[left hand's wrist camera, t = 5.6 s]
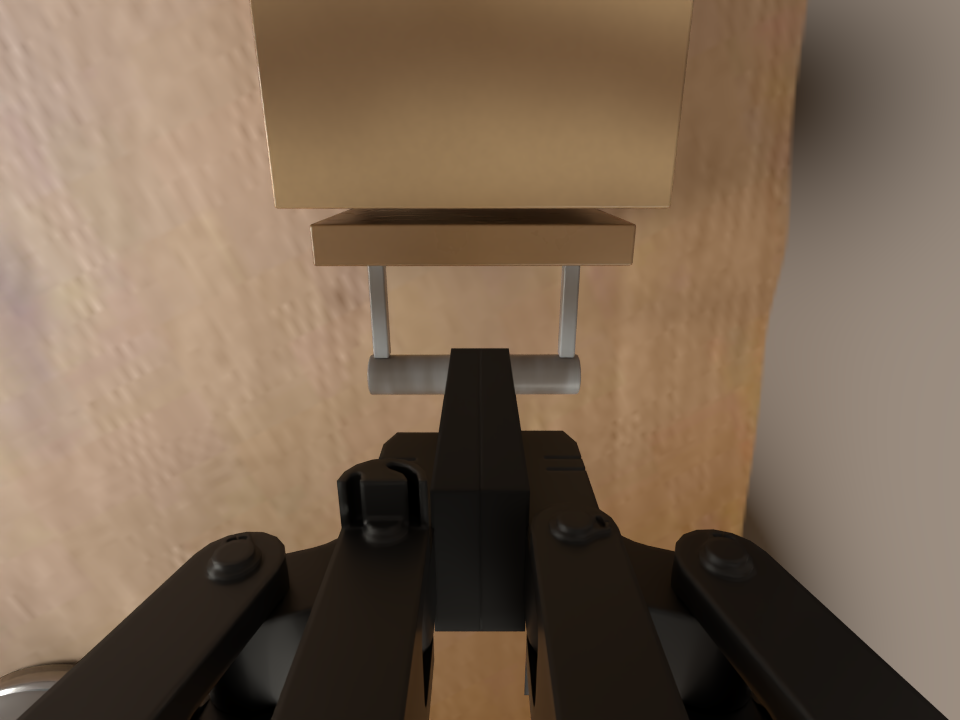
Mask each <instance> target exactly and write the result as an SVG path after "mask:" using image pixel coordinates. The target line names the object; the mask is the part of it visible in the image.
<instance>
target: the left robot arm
mask: <svg viewBox="0 0 960 720" xmlns="http://www.w3.org/2000/svg"><path fill="white" fill-rule="evenodd" d="M337 487H338V497H339V506H340V516H341V526H342V529H341V532H340V534H339V537H338V539H335V540H333V541H331V542H329V543H327V544H324V545H321V546H317V547H314V548H310V549H305V550H301V551H296V552H292V553H287V554H286V553H285V547H284V545H283V543H282V542H281V541H280V540H279V539H278V538H277V537H275V536H273V535H270V534H267V533H264V532H244V533H239V534H234V535H229V536H226V537H224V538H222V539H219V540H217V541H215V542H212V543H210V544H208V545H207V546H206V547H204V548H203V549H201V550H200V551H199V552H197V553H196V554H195V555H193V556H192V557H191V558H190V559H189V560H188V561H187V562H186V563H185V564H184V565H183V566H182V567H180V568H179V569H178V570H177V571H176V572H175V573H174V574H173V575H172V576H171V577H170V578H169V579H168V580H166V581H165V582H164V583H163V584H162V585H161V586H160V587H159V588H158V589H157V590H156V591H155V592H153V593H152V594H151V595H150V596H149V597H148V598H147V599H146V600H145V601H144V602H143V603H142V604H141V605H139V606H138V607H137V608H136V609H135V610H134V611H133V612H132V613H131V614H130V615H129V616H128V617H127V618H125V619H124V620H123V621H122V622H121V623H120V624H119V625H118V626H117V627H116V628H115V629H114V630H112V631H111V632H110V633H109V634H108V635H107V636H106V637H105V638H104V639H103V640H102V641H101V642H100V643H98V644H97V645H96V646H95V647H94V648H93V649H92V650H91V651H90V652H89V653H88V654H87V655H85V656H84V657H83V658H82V659H81V660H80V661H79V662H78V663H77V664H76V665H75V664H49V665H40V666H34V667H29V668H25V669H21V670H18V671H15V672H12V673H10V674H7V675H5V676H3V677H1V678H0V720H429V713H430V701H431V690H432V679H433V667H434V642H433V633H434V622H435V631H525V620H526V630H527V642H526V668H525V694H524V695H529V700H530V712H531V720H948V719H947V718H946V717H945V716H944V715H943V714H942V713H941V712H940V711H938V710H937V709H936V708H935V707H934V706H933V705H932V704H931V703H930V702H929V701H928V700H926V699H925V698H924V697H923V696H922V695H921V694H920V693H919V692H918V691H917V690H916V689H915V688H913V687H912V686H911V685H910V684H909V683H908V682H907V681H906V680H905V679H904V678H903V677H902V676H900V675H899V674H898V673H897V672H896V671H895V670H894V669H893V668H892V667H891V666H890V665H888V664H887V663H886V662H885V661H884V660H883V659H882V658H881V657H880V656H879V655H878V654H876V653H875V652H874V651H873V650H872V649H871V648H870V647H869V646H868V645H867V644H866V643H865V642H863V641H862V640H861V639H860V638H859V637H858V636H857V635H856V634H855V633H854V632H853V631H851V630H850V629H849V628H848V627H847V626H846V625H845V624H844V623H843V622H842V621H841V620H840V619H838V618H837V617H836V616H835V615H834V614H833V613H832V612H831V611H830V610H829V609H828V608H826V607H825V606H824V605H823V604H822V603H821V602H820V601H819V600H818V599H817V598H816V597H814V596H813V595H812V594H811V593H810V592H809V591H808V590H807V589H806V588H805V587H804V586H803V585H801V584H800V583H799V582H798V581H797V580H796V579H795V578H794V577H793V576H792V575H791V574H789V573H788V572H787V571H786V570H785V569H784V568H783V567H782V566H781V565H780V564H779V563H778V562H776V561H775V560H774V559H773V558H772V557H771V556H770V555H769V554H768V553H767V552H765V551H764V550H763V549H761V548H760V547H758V546H757V545H756V544H754V543H753V542H751V541H749V540H747V539H745V538H742V537H740V536H738V535H735V534H733V533H729V532H724V531H719V530H714V529H712V530H695V531H692V532H689V533H686V534H684V535H683V536H682V537H681V538H680V539H679V540H678V541H677V542H676V547H675V551H670V550H665V549H661V548H656V547H652V546H647V545H644V544H641V543H637V542H634V541H632V540H630V539H627V538H625V537H623V536H621V534H620V531H619V528H618V527H617V525H616V524H615V522H614V521H613V519H612V518H611V517H610V516H608V515H607V514H605V513H604V512H603V511H601V510H600V509H599V507H598V504H597V501H596V498H595V495H594V492H593V490H592V487H591V484H590V481H589V478H588V475H587V472H586V471H585V466H584V463H583V460H582V459H581V454H580V451H579V448H578V445H577V443H576V442H575V441H574V440H573V439H572V438H571V437H569V436H568V435H567V434H566V433H565V432H564V431H521V427H520V420H519V414H518V407H517V401H516V394H515V387H514V381H513V374H512V367H511V361H510V354H509V348H451V354H450V361H449V367H448V374H447V381H446V387H445V394H444V401H443V407H442V414H441V420H440V427H439V433H396V434H395V435H394V436H393V437H392V438H390V439H389V440H388V441H387V442H386V443H385V444H384V445H383V448H382V451H381V454H380V457H379V459H374V460H370V461H366V462H363V463H360V464H357V465H355V466H353V467H352V468H350V469H348V470H347V471H345V472H344V473H343V474H342V475H341V477H340V478H339V479H338V480H337Z"/></svg>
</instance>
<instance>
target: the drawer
mask: <svg viewBox="0 0 960 720" xmlns="http://www.w3.org/2000/svg"><path fill="white" fill-rule="evenodd" d="M635 232H636V225H635V224H633V223H630V222H628V221H625V220H623V219H620V218H618V217H615V216H613V215H610V214H608V213H605V212H603V211H600V210H598V209H595V208H352V209H350V210H347V211H345V212H342V213H339V214H337V215H334V216H332V217H329V218H327V219H324V220H321V221H319V222H316V223H314V224H311V225H310V233H311V243H312V252H313V262H314V265H315V266H368V280H369V294H370V308H371V323H372V337H373V351H374V355H371V356H370V359H369V363H368V387H369V391H370V394H372V395H444V394H445V387H446V381H447V374H448V367H449V361H450V355H390V353H391V347H390V330H389V313H388V296H387V279H386V266H562V279H561V299H560V319H559V338H558V354H559V355H510V361H511V367H512V374H513V381H514V387H515V394H578V392H579V389H580V383H581V367H580V360H579V357H578V355H576V354H575V341H576V325H577V309H578V293H579V277H580V266H630V265H632V263H633V253H634V242H635Z"/></svg>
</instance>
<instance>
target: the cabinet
mask: <svg viewBox="0 0 960 720" xmlns="http://www.w3.org/2000/svg"><path fill="white" fill-rule="evenodd" d="M249 1H250V9H251V18H252V26H253V34H254V42H255V50H256V58H257V66H258V75H259V83H260V91H261V99H262V107H263V115H264V123H265V132H266V140H267V148H268V156H269V164H270V172H271V180H272V189H273V197H274V205H275V207H276V208H278V209H342V208H669V207H670V205H671V196H672V187H673V178H674V169H675V161H676V152H677V143H678V134H679V126H680V117H681V108H682V99H683V91H684V82H685V73H686V64H687V56H688V47H689V38H690V29H691V20H692V12H693V3H694V0H249Z"/></svg>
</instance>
